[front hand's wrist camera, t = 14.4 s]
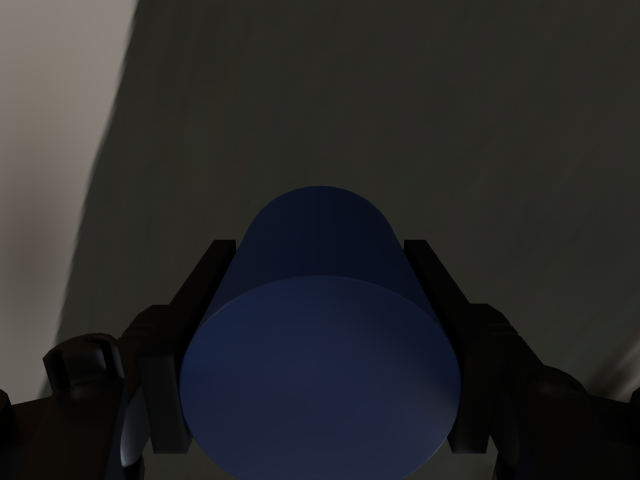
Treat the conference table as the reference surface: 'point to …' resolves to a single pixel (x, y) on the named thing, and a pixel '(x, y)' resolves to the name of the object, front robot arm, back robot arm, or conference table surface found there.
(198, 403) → the can
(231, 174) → the conference table surface
